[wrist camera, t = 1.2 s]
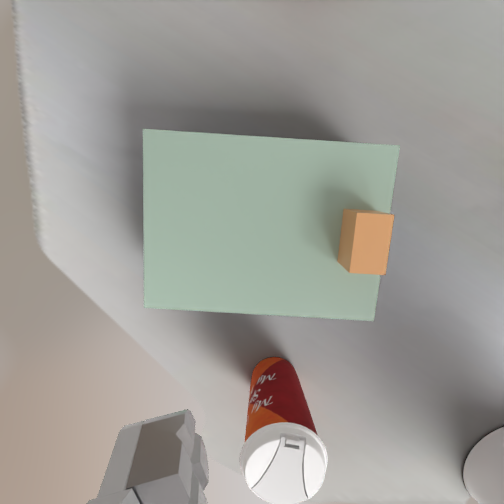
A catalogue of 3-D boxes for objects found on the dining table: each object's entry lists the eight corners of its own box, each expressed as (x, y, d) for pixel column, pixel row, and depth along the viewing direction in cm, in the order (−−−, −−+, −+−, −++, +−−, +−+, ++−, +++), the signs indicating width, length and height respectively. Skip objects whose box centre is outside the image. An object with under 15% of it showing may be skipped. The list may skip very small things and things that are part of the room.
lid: (394, 146, 30) (422, 140, 25) (369, 316, 34) (390, 340, 29) (147, 130, 30) (125, 120, 25) (147, 303, 34) (129, 325, 29)
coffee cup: (249, 343, 43) (248, 426, 29) (311, 354, 44) (341, 442, 29) (237, 399, 45) (230, 504, 30) (296, 409, 45) (318, 518, 31)
